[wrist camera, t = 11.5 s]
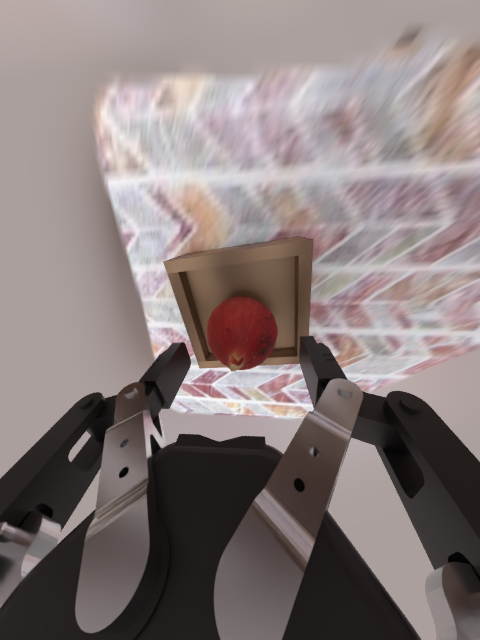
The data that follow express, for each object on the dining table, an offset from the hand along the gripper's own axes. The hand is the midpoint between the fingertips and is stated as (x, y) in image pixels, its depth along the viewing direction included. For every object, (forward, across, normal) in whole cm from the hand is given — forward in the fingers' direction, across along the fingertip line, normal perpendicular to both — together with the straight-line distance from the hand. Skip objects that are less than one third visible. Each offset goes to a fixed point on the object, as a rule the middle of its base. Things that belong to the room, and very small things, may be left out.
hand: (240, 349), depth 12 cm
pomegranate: (+6, 0, 0) cm, 7 cm away
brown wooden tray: (+10, 0, 0) cm, 10 cm away
